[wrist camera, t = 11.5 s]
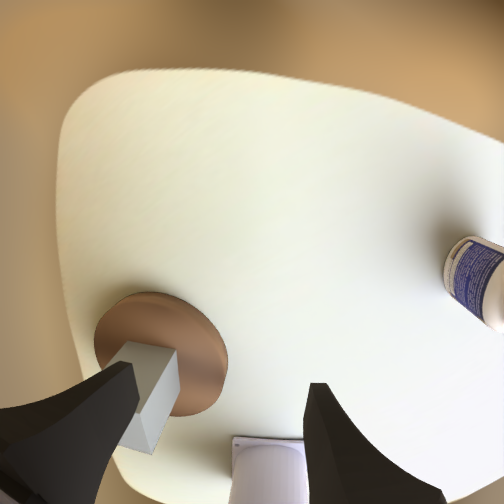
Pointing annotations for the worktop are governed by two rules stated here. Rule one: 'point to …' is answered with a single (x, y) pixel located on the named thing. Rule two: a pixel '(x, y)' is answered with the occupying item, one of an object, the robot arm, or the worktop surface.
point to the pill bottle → (477, 279)
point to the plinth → (169, 344)
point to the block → (149, 392)
